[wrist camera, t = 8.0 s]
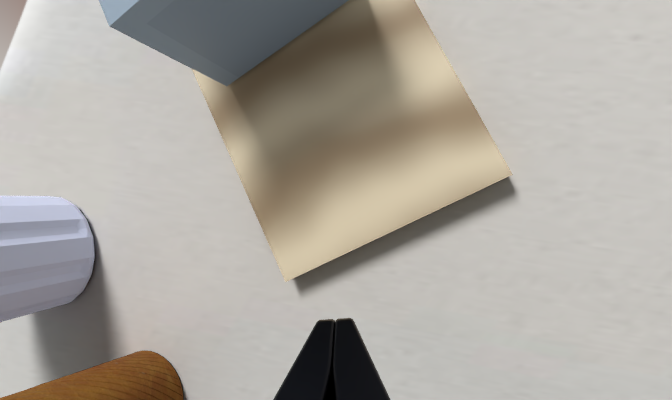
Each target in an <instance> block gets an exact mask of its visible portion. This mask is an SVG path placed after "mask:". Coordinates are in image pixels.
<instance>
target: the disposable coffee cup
mask: <svg viewBox="0 0 672 400" xmlns="http://www.w3.org/2000/svg"><path fill="white" fill-rule="evenodd" d="M0 400H183V390H182V386H181V382H180V379H179V377H178V375H177V373H176V371H175V369H174V368H173V367H172V365H171V364H170V363H169V362H168V361H167V360H166V359H165V358H164V357H162V356H161V355H159V354H157V353H155V352H152V351H139V352H135V353H133V354H130V355H127V356H124V357H121V358H118V359H115V360H112V361H109V362H106V363H103V364H100V365H97V366H94V367H92V368H89V369H85V370H83V371H80V372H77V373H74V374H71V375H68V376H64V377H62V378H59V379H56V380H53V381H50V382H47V383H44V384H40V385H38V386H35V387H33V388H30V389H27V390H24V391H21V392H18V393H15V394H12V395H9V396H6V397H2V398H0Z"/></svg>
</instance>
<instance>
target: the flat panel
mask: <svg viewBox="0 0 672 400" xmlns="http://www.w3.org/2000/svg"><path fill="white" fill-rule="evenodd" d="M192 70H193V72H194V75H195V77H196V79H197V82H198V84H199V86H200V88H201V91H202V93H203V95H204V97H205V100H206V102H207V104H208V107H209V109H210V111H211V113H212V116H213V118H214V120H215V122H216V125H217V127H218V129H219V132H220V134H221V136H222V138H223V141H224V143H225V145H226V148H227V150H228V152H229V154H230V157H231V159H232V161H233V163H234V166H235V168H236V170H237V173H238V175H239V177H240V179H241V182H242V184H243V186H244V188H245V191H246V193H247V195H248V198H249V200H250V202H251V204H252V207H253V209H254V211H255V214H256V216H257V218H258V220H259V223H260V225H261V227H262V229H263V232H264V234H265V236H266V239H267V241H268V243H269V245H270V248H271V250H272V252H273V254H274V257H275V259H276V261H277V264H278V266H279V268H280V270H281V273H282V275H283V277H284V280H285V282H287V281H289V280H291V279H293V278H295V277H297V276H299V275H301V274H304V273H306V272H308V271H310V270H312V269H314V268H316V267H318V266H320V265H323V264H325V263H327V262H329V261H331V260H333V259H335V258H337V257H340V256H342V255H344V254H346V253H348V252H350V251H352V250H354V249H356V248H359V247H361V246H363V245H365V244H367V243H369V242H371V241H373V240H375V239H378V238H380V237H382V236H384V235H386V234H388V233H390V232H392V231H394V230H397V229H399V228H401V227H403V226H405V225H407V224H409V223H411V222H414V221H416V220H418V219H420V218H422V217H424V216H426V215H428V214H430V213H433V212H435V211H437V210H439V209H441V208H443V207H445V206H447V205H449V204H452V203H454V202H456V201H458V200H460V199H462V198H464V197H466V196H468V195H471V194H473V193H475V192H477V191H479V190H481V189H483V188H485V187H487V186H490V185H492V184H494V183H496V182H498V181H500V180H502V179H504V178H507V177H509V176H511V175H513V174H512V173H511V171H510V169H509V167H508V166H507V164H506V162H505V160H504V158H503V157H502V155H501V153H500V151H499V150H498V148H497V146H496V144H495V142H494V141H493V139H492V137H491V135H490V134H489V132H488V130H487V128H486V126H485V125H484V123H483V121H482V119H481V118H480V116H479V114H478V112H477V110H476V109H475V107H474V105H473V103H472V102H471V100H470V98H469V96H468V94H467V93H466V91H465V89H464V87H463V86H462V84H461V82H460V80H459V78H458V77H457V75H456V73H455V71H454V70H453V68H452V66H451V64H450V62H449V61H448V59H447V57H446V55H445V54H444V52H443V50H442V48H441V47H440V45H439V43H438V41H437V39H436V38H435V36H434V34H433V32H432V31H431V29H430V27H429V25H428V23H427V22H426V20H425V18H424V16H423V15H422V13H421V11H420V9H419V7H418V6H417V4H416V2H415V0H348V1H347V2H346V3H344V4H343V5H341V6H340V7H339V8H337V9H336V10H334V11H333V12H331V13H330V14H329V15H327V16H326V17H324V18H323V19H322V20H320V21H319V22H317V23H316V24H314V25H313V26H312V27H310V28H309V29H307V30H306V31H305V32H303V33H302V34H300V35H299V36H297V37H296V38H295V39H293V40H292V41H290V42H289V43H288V44H286V45H285V46H283V47H282V48H280V49H279V50H278V51H276V52H275V53H273V54H272V55H271V56H269V57H268V58H266V59H265V60H263V61H262V62H261V63H259V64H258V65H256V66H255V67H254V68H252V69H251V70H249V71H248V72H247V73H245V74H244V75H242V76H241V77H239V78H238V79H237V80H235V81H234V82H232V83H231V84H230V85H228V86H225V85H223V84H221V83H219V82H217V81H215V80H213V79H211V78H210V77H208V76H206V75H204V74H202V73H200V72H198V71H196V70H194V69H192Z"/></svg>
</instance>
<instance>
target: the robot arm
mask: <svg viewBox="0 0 672 400" xmlns="http://www.w3.org/2000/svg"><path fill="white" fill-rule="evenodd" d="M273 400H390V398H389V396H388V394H387V391H386V389H385V387H384V385H383V383H382V381H381V379H380V376H379V374H378V372H377V370H376V368H375V366H374V364H373V361H372V359H371V357H370V355H369V353H368V351H367V348H366V346H365V344H364V342H363V340H362V338H361V336H360V333H359V331H358V329H357V327H356V325H355V323H354V321H353V319H351V318H344V319H337V320H336V322H335V320H333V319H328V320H319V321H318V322H317V323H316V325H315V326H314V328H313V330H312V332H311V334H310V335H309V337H308V339H307V341H306V342H305V344H304V346H303V348H302V350H301V351H300V353H299V355H298V357H297V358H296V360H295V362H294V364H293V366H292V367H291V369H290V371H289V373H288V375H287V376H286V378H285V380H284V382H283V383H282V385H281V387H280V389H279V391H278V392H277V394H276V396H275V398H274V399H273Z"/></svg>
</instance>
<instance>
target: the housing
mask: <svg viewBox="0 0 672 400" xmlns="http://www.w3.org/2000/svg"><path fill="white" fill-rule="evenodd" d="M347 1H348V0H99V2H100V4H101V7H102V9H103V12H104V14H105V17H106V19H107V21H108V24H109V26H110V27H112V28H114V29H116V30H118V31H120V32H122V33H124V34H126V35H128V36H130V37H131V38H133V39H135V40H137V41H139V42H141V43H143V44H145V45H147V46H149V47H151V48H153V49H155V50H157V51H159V52H161V53H163V54H165V55H167V56H169V57H170V58H172V59H174V60H176V61H178V62H180V63H182V64H184V65H186V66H188V67H190V68H192V69H194V70H196V71H198V72H200V73H202V74H204V75H206V76H208V77H210V78H211V79H213V80H215V81H217V82H219V83H221V84H223V85H225V86H228V85H230V84H231V83H232V82H234V81H235V80H237V79H238V78H239V77H241V76H242V75H244V74H245V73H247V72H248V71H249V70H251V69H252V68H254V67H255V66H256V65H258V64H259V63H261V62H262V61H263V60H265V59H266V58H268V57H269V56H271V55H272V54H273V53H275V52H276V51H278V50H279V49H280V48H282V47H283V46H285V45H286V44H288V43H289V42H290V41H292V40H293V39H295V38H296V37H297V36H299V35H300V34H302V33H303V32H305V31H306V30H307V29H309V28H310V27H312V26H313V25H314V24H316V23H317V22H319V21H320V20H322V19H323V18H324V17H326V16H327V15H329V14H330V13H331V12H333V11H334V10H336V9H337V8H339V7H340V6H341V5H343V4H344V3H346V2H347Z"/></svg>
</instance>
